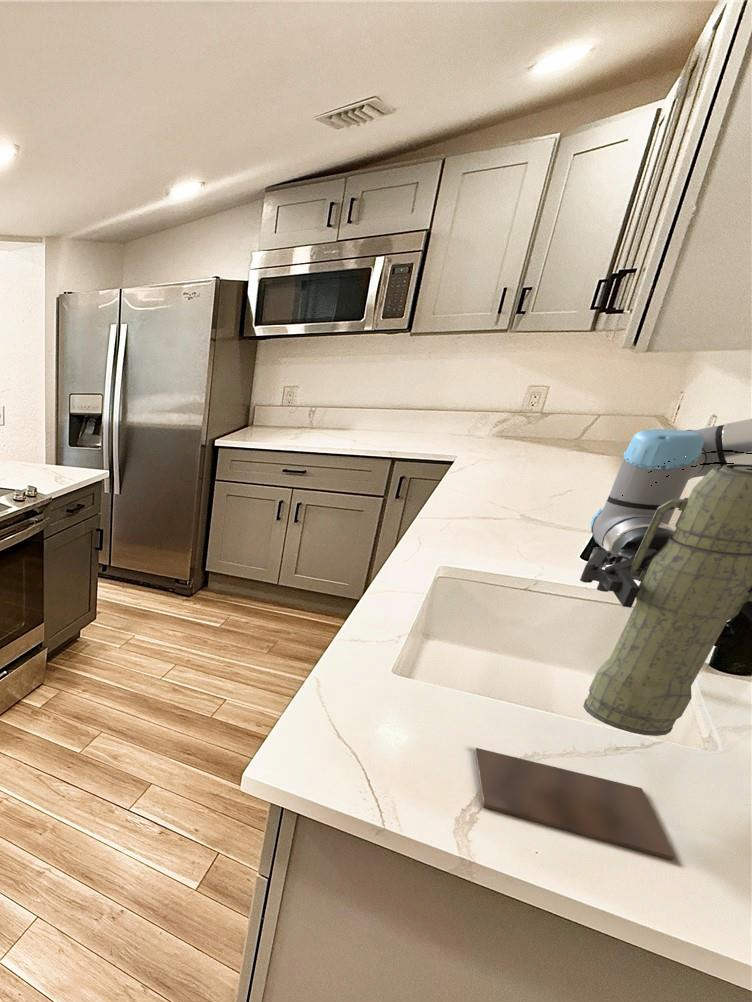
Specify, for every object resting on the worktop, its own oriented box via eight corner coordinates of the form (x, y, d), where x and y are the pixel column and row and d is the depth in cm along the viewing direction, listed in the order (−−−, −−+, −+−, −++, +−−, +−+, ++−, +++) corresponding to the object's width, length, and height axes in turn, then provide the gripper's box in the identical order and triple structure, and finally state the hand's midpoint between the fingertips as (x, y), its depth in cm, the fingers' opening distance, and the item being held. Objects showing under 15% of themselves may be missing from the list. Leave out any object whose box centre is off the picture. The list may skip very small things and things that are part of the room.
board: (640, 791, 85) (641, 787, 84) (672, 860, 74) (674, 857, 74) (474, 750, 94) (475, 747, 94) (482, 807, 84) (484, 803, 84)
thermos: (689, 750, 79) (846, 484, 64) (565, 713, 87) (679, 469, 72) (689, 720, 84) (834, 468, 69) (572, 687, 92) (679, 455, 77)
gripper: (750, 586, 86) (829, 654, 70) (534, 561, 99) (558, 614, 82) (777, 536, 83) (865, 595, 67) (550, 516, 96) (578, 562, 79)
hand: (696, 605), depth 75 cm, fingers closed on thermos, 10 cm apart
